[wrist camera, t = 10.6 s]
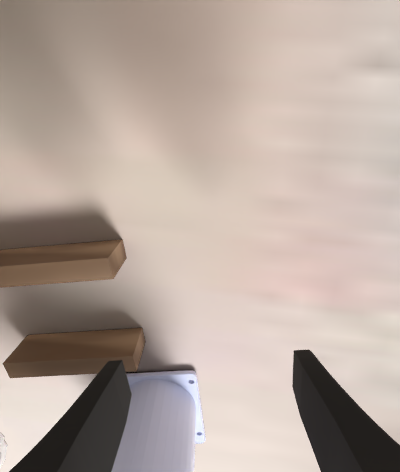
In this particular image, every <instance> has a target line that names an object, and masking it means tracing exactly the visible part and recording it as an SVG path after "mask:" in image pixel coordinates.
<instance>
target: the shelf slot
mask: <svg viewBox="0 0 400 472" xmlns="http://www.w3.org/2000/svg"><path fill="white" fill-rule="evenodd" d="M125 260H126V253H125V249H124V245H123V240H110V241H98V242H86V243H74V244H63V245H51V246H39V247H27V248H15V249H4V250H0V287H13V286H26V285H39V284H53V283H66V282H79V281H92V280H106V279H114V277H115V275H116V274H117V272H118V271H119V269H120V268H121V266H122V264H123V263H124V261H125ZM144 345H145V338H144V333H143V329H142V328H131V329H115V330H99V331H83V332H68V333H52V334H36V335H27V336H26V338H25V339H24V340H23V341H22V342H21V343H20V344H19V346H18V347H17V348H16V349H15V350H14V351H13V352H12V354H11V355H10V356H9V357H8V358H7V359H6V360H5V362H4V363H3V365H4V367H5V369H6V371H7V373H8V375H9V377H10V378H20V377H39V376H58V375H77V374H96V373H99V372H100V371H101V369H102V368H103V367H104V366H105V364H106V363H107V362H108V361H116V360H122V361H123V364H124V368H125V372H134V371H137V369H138V365H139V362H140V358H141V355H142V352H143V348H144Z"/></svg>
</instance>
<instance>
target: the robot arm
mask: <svg viewBox="0 0 400 472" xmlns="http://www.w3.org/2000/svg"><path fill="white" fill-rule="evenodd" d="M293 390H294V394H295V398H296V402H297V405H298V409H299V413H300V416H301V419H302V422H303V424H304V427H305V430H306V432H307V435H308V438H309V440H310V443H311V446H312V449H313V451H314V454H315V457H316V459H317V462H318V465H319V467H320V470H321V472H400V445H399V444H398V443H397V442H396V441H394V440H393V439H392V438H391V437H390V436H389V435H388V434H387V433H386V432H385V431H384V430H383V429H382V428H381V427H379V426H378V425H377V424H376V423H375V422H374V421H373V420H372V419H371V418H370V417H369V416H368V415H367V414H366V413H365V412H364V411H363V410H362V409H361V408H360V407H359V405H358V404H357V403H356V402H355V401H354V400H353V399H352V398H351V397H350V396H349V395H348V394H347V393H346V392H345V390H344V389H343V388H342V387H341V386H340V385H339V384H338V383H337V382H336V381H335V379H334V378H333V377H332V376H331V375H330V374H329V372H328V371H327V370H326V369H325V368H324V366H323V365H322V364H321V363H320V362H319V360H318V359H317V358H316V357H315V355H314V354H313V353H312V352H311V351H310V350H295V351H294V362H293ZM204 442H205V430H204V423H203V416H202V409H201V402H200V395H199V388H198V381H197V374H196V372H195V371H192V370H186V371H167V372H148V373H129V374H126V372H125V368H124V364H123V361H122V360H116V361H108V362H107V363H106V364H105V366H104V367H103V368H102V369H101V371H100V372H99V373H98V374H97V376H96V377H95V378H94V379H93V381H92V382H91V383H90V384H89V386H88V387H87V388H86V389H85V391H84V392H83V393H82V394H81V395H80V397H79V398H78V399H77V400H76V401H75V403H74V404H73V405H72V406H71V407H70V409H69V410H68V411H67V412H66V413H65V414H64V415H63V417H62V418H61V419H60V420H59V421H58V422H57V423H56V424H55V425H54V427H53V428H52V429H51V430H50V431H49V432H48V433H47V434H46V435H45V436H44V437H43V438H42V440H41V441H40V442H39V443H38V444H37V445H36V446H35V447H34V448H33V449H32V450H31V451H30V452H29V453H28V454H27V455H26V456H25V457H24V458H23V459H22V460H21V461H20V462H19V463H18V464H17V465H16V466H14V467H13V468H12V469H11V470H10V471H9V472H194V463H195V444H198V443H204Z"/></svg>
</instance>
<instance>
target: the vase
mask: <svg viewBox="0 0 400 472" xmlns="http://www.w3.org/2000/svg"><path fill="white" fill-rule="evenodd" d="M6 450H7V444H6V442H5V441H4V436H3V435H2V434H1V433H0V467H1V466H2V464H3V463H4V461H5V458H6Z"/></svg>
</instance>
